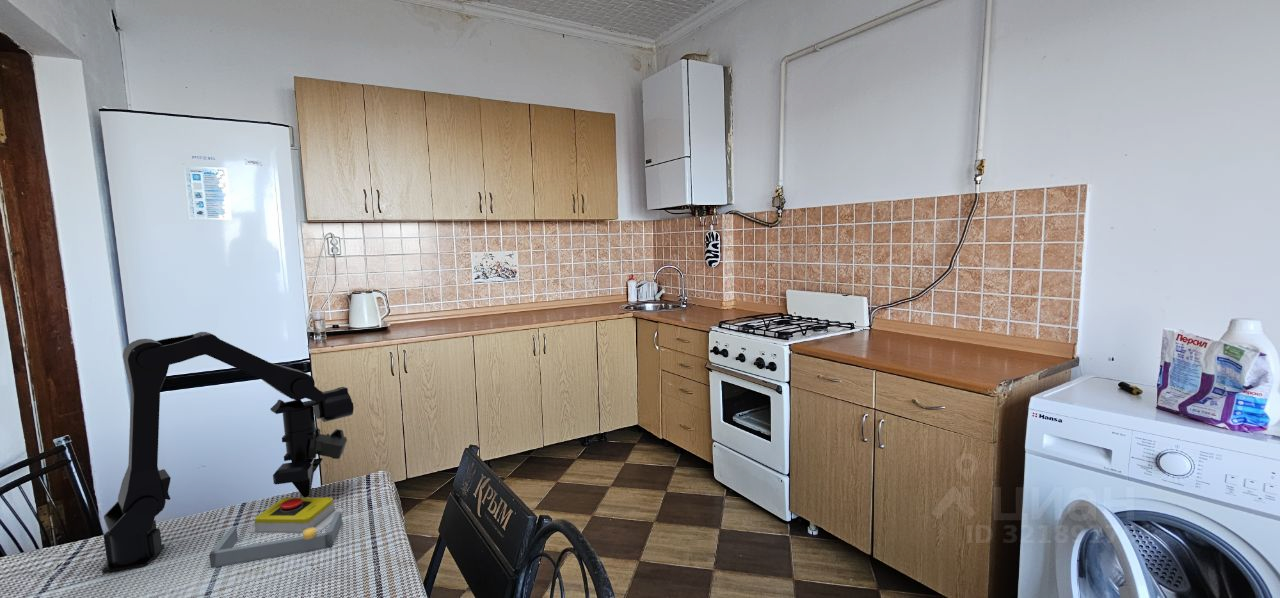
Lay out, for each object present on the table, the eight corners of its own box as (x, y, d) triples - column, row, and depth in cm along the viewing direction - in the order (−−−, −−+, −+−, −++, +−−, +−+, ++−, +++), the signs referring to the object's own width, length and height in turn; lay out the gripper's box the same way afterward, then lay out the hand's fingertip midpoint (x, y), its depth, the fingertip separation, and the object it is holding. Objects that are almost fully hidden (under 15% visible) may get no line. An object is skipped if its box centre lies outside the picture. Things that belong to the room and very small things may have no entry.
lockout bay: (209, 569, 96) (207, 549, 95) (231, 540, 105) (229, 522, 104) (331, 548, 101) (329, 529, 101) (342, 522, 110) (340, 505, 110)
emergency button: (276, 491, 116) (345, 491, 115) (279, 511, 117) (347, 511, 116) (243, 514, 107) (317, 514, 106) (245, 535, 108) (319, 535, 107)
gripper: (331, 437, 112) (338, 510, 113) (350, 410, 129) (355, 473, 131) (268, 445, 108) (276, 519, 110) (296, 416, 126) (303, 480, 128)
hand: (306, 496), depth 120 cm, fingers closed
